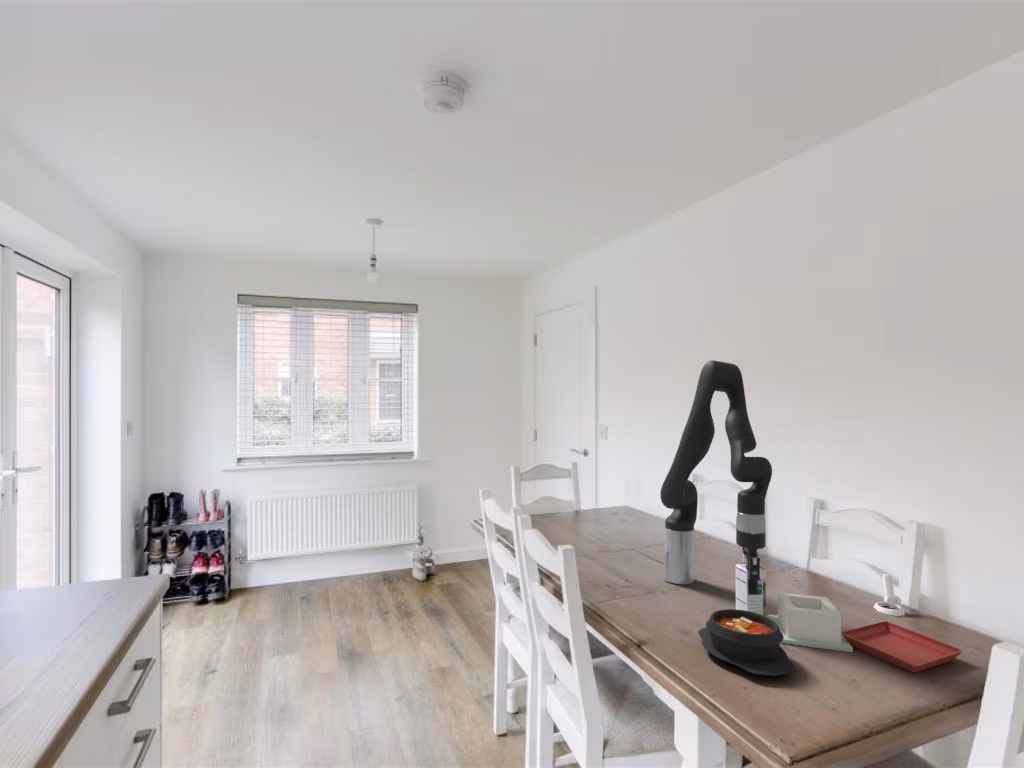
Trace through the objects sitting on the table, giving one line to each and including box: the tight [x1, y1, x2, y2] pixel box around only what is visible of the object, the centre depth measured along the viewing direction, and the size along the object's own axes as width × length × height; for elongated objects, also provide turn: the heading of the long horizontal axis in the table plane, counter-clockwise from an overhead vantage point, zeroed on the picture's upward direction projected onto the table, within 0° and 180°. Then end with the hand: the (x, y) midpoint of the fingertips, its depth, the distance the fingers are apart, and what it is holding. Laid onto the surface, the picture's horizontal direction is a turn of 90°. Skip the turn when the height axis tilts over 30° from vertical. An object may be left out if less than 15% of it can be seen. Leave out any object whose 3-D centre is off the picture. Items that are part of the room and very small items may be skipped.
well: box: [767, 592, 854, 653], centre depth 142 cm, size 16×16×8 cm
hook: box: [873, 573, 906, 617], centre depth 160 cm, size 8×12×7 cm
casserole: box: [698, 608, 796, 677], centre depth 129 cm, size 25×19×8 cm
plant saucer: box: [841, 620, 964, 673], centre depth 132 cm, size 18×18×3 cm
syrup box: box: [735, 563, 767, 617], centre depth 151 cm, size 6×6×14 cm
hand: (750, 588), depth 151 cm, fingers closed on syrup box, 7 cm apart
